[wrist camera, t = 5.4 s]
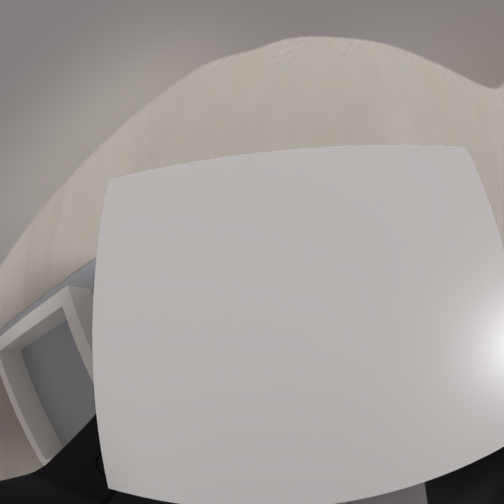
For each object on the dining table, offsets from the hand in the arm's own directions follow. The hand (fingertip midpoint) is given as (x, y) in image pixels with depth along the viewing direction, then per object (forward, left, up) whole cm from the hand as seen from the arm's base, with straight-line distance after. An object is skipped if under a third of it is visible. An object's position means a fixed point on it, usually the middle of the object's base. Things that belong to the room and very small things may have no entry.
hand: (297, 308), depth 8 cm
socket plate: (-10, +10, -7) cm, 16 cm away
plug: (-2, -1, -7) cm, 7 cm away
